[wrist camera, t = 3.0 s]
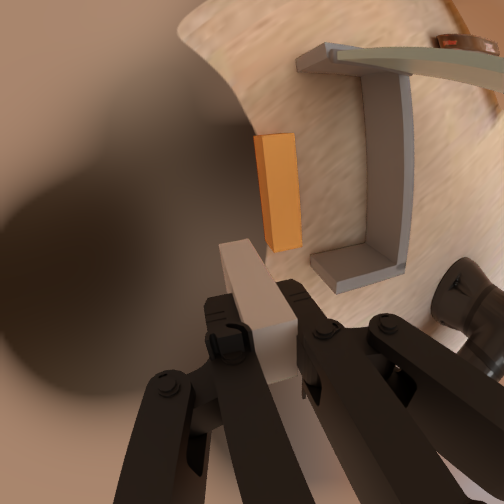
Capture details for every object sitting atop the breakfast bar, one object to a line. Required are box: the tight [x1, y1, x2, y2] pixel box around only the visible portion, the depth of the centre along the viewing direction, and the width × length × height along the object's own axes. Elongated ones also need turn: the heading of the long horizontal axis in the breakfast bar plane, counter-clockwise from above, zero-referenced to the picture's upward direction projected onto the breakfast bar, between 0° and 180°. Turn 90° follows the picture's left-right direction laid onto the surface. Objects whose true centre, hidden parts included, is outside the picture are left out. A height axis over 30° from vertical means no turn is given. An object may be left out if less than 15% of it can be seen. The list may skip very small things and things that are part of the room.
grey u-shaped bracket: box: [296, 42, 414, 295], centre depth 27 cm, size 25×10×7 cm, turn 6°
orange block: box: [253, 133, 302, 253], centre depth 28 cm, size 12×3×4 cm, turn 7°
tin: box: [437, 34, 500, 56], centre depth 22 cm, size 15×3×8 cm, turn 109°
